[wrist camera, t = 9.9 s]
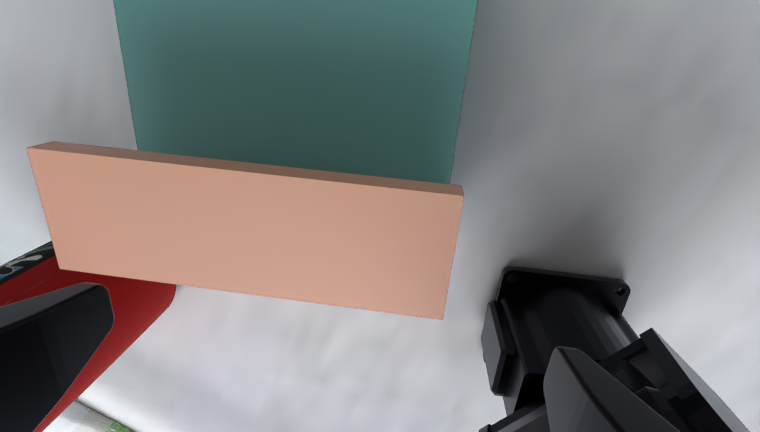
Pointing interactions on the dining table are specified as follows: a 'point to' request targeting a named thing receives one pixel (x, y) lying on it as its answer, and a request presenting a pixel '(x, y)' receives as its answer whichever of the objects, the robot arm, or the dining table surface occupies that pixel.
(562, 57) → the dining table surface
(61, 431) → the dish towel
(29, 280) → the beverage can
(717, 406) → the robot arm
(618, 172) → the dining table surface
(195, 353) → the dining table surface
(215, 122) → the socket plate
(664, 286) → the dining table surface
